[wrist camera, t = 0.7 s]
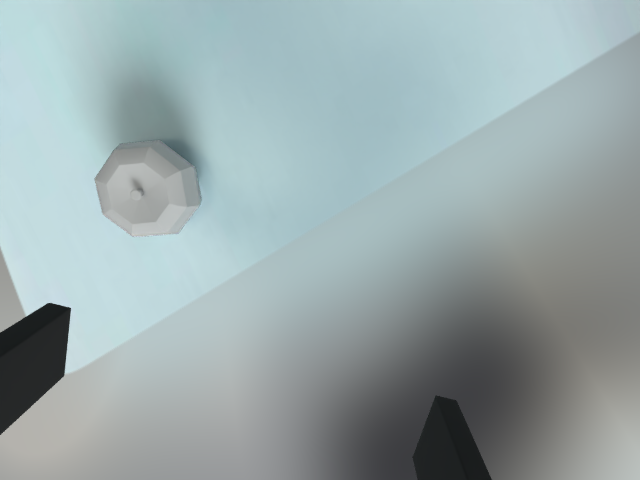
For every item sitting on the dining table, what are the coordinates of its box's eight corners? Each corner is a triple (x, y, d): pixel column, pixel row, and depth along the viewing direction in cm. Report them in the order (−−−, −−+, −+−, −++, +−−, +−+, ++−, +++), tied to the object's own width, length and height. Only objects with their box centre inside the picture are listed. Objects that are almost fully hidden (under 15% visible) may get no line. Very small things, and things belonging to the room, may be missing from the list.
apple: (117, 211, 37) (73, 229, 31) (133, 123, 35) (89, 123, 29) (204, 237, 38) (178, 260, 31) (225, 152, 36) (201, 158, 29)
